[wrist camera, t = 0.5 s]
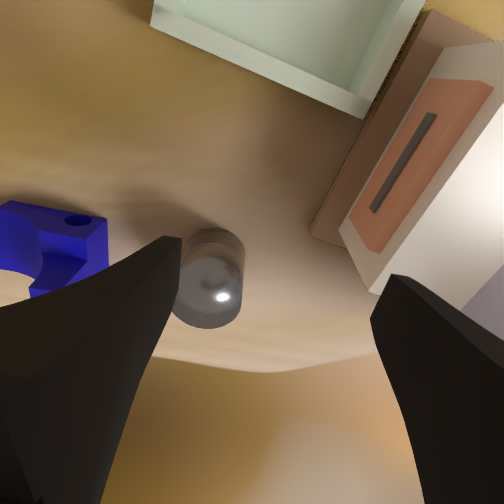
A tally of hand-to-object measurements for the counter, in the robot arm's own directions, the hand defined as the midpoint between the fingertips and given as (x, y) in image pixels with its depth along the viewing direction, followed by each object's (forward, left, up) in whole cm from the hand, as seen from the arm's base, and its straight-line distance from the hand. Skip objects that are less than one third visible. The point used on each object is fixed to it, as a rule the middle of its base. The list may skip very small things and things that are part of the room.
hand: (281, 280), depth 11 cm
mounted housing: (-6, -4, -9) cm, 12 cm away
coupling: (+2, +6, -9) cm, 11 cm away
